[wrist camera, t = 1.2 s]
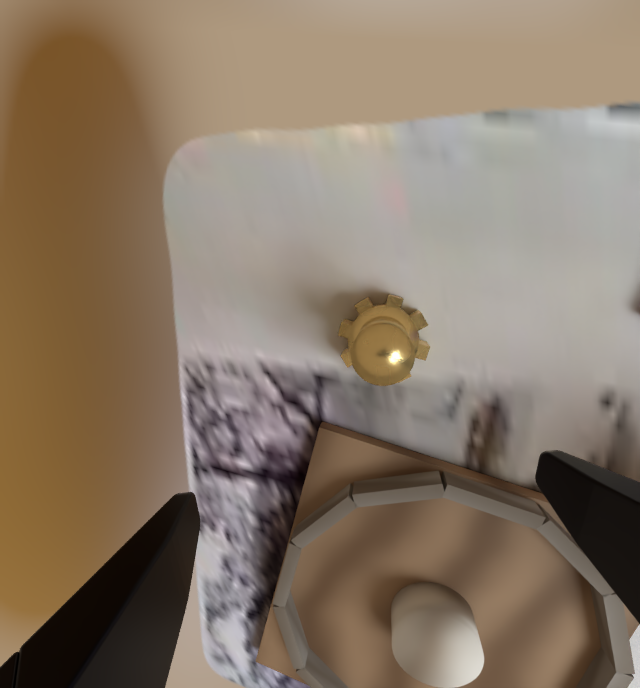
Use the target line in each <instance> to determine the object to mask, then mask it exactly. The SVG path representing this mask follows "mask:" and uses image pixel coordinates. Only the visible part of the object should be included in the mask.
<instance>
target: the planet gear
mask: <svg viewBox="0 0 640 688" xmlns="http://www.w3.org/2000/svg"><path fill="white" fill-rule="evenodd" d="M402 302H403V298H402V297H398V296H394V295H390V294H389V295H388V298H387V301H386V304H379V305H374V306H373V304H372V302H371V301H370V299H369V297H367V298H365V299H364V300H362V301H360V302H358V303H357V304H355V305H354V306H355V308H356V309H357V311H358V313H359V316H358V317H357V318H356V320H355V321H350V320H347V319H344V320H343V321H342V322H341V326H340V329H339V333H338V336H341V337H345V338H348V346H349V348H347V349H345V350H344V351H343V352H342V354H341V357H342V359H343V361H344V363H345V364H346V366H347V367H349V366H351V365H353V367H354V369H355V371H356V372H357V374H358V375H359V376H360V377H361V378H362V379H364V380H365V381H367V382H369V383H371V384H374V385H379V386H387V385H392V384H395V383H397V382H398V383H399V382H401V381H403V380H405V379H407V378H409V377H411V374H410V371H411V369H412V367H413V364H414V359H415V358H418V359H422V360H426V358H427V355H428V352H429V349H430V346H429V345H428V343H427V342H426V341H422V340H419V334H418V330H420V329H422V328H424V327H426V326H428V324H427V322H426V320H425V319H424V317H423V315H422V313H421V312H420V311H419V310H417V311H415V312H414V313H412V314H410V315H408V314H407V313H406V312H405V311H403V310H402V309H400V308H401V305H402Z"/></svg>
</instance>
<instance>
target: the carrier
mask: <svg viewBox="0 0 640 688" xmlns="http://www.w3.org/2000/svg"><path fill="white" fill-rule="evenodd" d="M638 625H639V623H638V621H637V620H636V619H635V618H634V616H633V615H632V614H631V613H630V611H629V610H628V609H627V607H626V606H625V605H624V604H623V602H622V601H621V600H620V599H619V597H618V596H617V595H616V593H615V592H614V591H613V590H612V588H611V587H610V586H609V585H608V583H607V582H606V581H605V580H604V578H603V577H602V576H601V574H600V573H599V572H598V571H597V569H596V568H595V567H594V566H593V564H592V563H591V562H590V560H589V559H588V558H587V557H586V555H585V554H584V553H583V551H582V550H581V549H580V547H579V546H578V545H577V543H576V542H575V541H574V539H573V538H572V536H571V535H570V533H569V532H568V530H567V529H566V527H565V526H564V524H563V523H562V521H561V520H560V518H559V517H558V515H557V514H556V512H555V511H554V509H553V508H552V506H551V505H550V503H549V502H548V500H547V499H546V497H545V496H544V494H543V493H539V492H536V491H533V490H530V489H527V488H524V487H521V486H518V485H515V484H512V483H509V482H506V481H503V480H500V479H497V478H494V477H491V476H488V475H484V474H481V473H478V472H475V471H472V470H469V469H466V468H463V467H460V466H457V465H454V464H451V463H448V462H445V461H442V460H439V459H436V458H433V457H430V456H426V455H423V454H420V453H417V452H414V451H411V450H408V449H405V448H402V447H399V446H396V445H393V444H390V443H387V442H384V441H381V440H378V439H375V438H371V437H368V436H365V435H362V434H359V433H356V432H353V431H350V430H347V429H344V428H341V427H338V426H335V425H332V424H329V423H326V422H323V421H322V423H321V425H320V427H319V431H318V434H317V438H316V442H315V445H314V449H313V453H312V456H311V460H310V464H309V467H308V471H307V475H306V478H305V482H304V486H303V489H302V493H301V497H300V500H299V504H298V508H297V511H296V515H295V519H294V523H293V526H292V530H291V534H290V537H289V541H288V545H287V548H286V552H285V556H284V559H283V563H282V567H281V570H280V574H279V578H278V581H277V585H276V589H275V592H274V596H273V600H272V603H271V607H270V611H269V614H268V618H267V622H266V625H265V629H264V633H263V636H262V640H261V644H260V647H259V651H258V655H257V658H256V662H258V663H260V664H262V665H265V666H267V667H269V668H271V669H273V670H276V671H278V672H280V673H282V674H284V675H287V676H289V677H291V678H293V679H296V680H298V681H300V682H302V683H304V684H307V685H309V686H310V687H311V688H627V687H628V686H629V684H630V683H631V681H632V680H633V678H634V677H633V675H632V674H635V672H634V666H633V660H632V653H631V647H630V641H629V639H630V638H631V636H632V635H633V633H634V631H635V630H636V628H637V627H638Z"/></svg>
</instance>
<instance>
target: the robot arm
mask: <svg viewBox="0 0 640 688" xmlns="http://www.w3.org/2000/svg"><path fill="white" fill-rule="evenodd" d="M535 478H536V483H537V485H538V487H539V488H540V490H541V491H542V493H543V494H544V496H545V497H546V499H547V500H548V502H549V503H550V505H551V506H552V508H553V509H554V511H555V512H556V514H557V515H558V517H559V518H560V520H561V521H562V523H563V524H564V526H565V527H566V529H567V530H568V532H569V533H570V535H571V536H572V538H573V539H574V541H575V542H576V543H577V545H578V546H579V547H580V549H581V550H582V551H583V553H584V554H585V555H586V557H587V558H588V559H589V560H590V562H591V563H592V564H593V566H594V567H595V568H596V569H597V571H598V572H599V573H600V574H601V576H602V577H603V578H604V580H605V581H606V582H607V583H608V585H609V586H610V587H611V588H612V590H613V591H614V592H615V593H616V595H617V596H618V597H619V599H620V600H621V601H622V602H623V604H624V605H625V606H626V607H627V609H628V610H629V611H630V613H631V614H632V615H633V616H634V618H635V619H636V620H637V621H638V623H639V624H640V482H637V481H635V480H632V479H630V478H627V477H625V476H622V475H620V474H617V473H615V472H612V471H610V470H607V469H605V468H602V467H600V466H597V465H595V464H592V463H590V462H587V461H585V460H582V459H580V458H577V457H575V456H572V455H569V454H567V453H564V452H562V451H558V450H554V451H545V452H542V453H541V455H540V457H539V462H538V466H537V471H536V476H535ZM199 530H200V516H199V511H198V507H197V502H196V497H195V495H194V493H192V492H187V493H178V494H176V495H174V496H173V497H172V498H171V499H170V500H169V501H168V502H167V503H166V504H165V505H164V506H163V507H162V508H161V509H160V510H159V511H158V512H157V513H156V514H155V515H154V516H153V517H152V518H151V519H150V520H148V522H146V524H144V525H143V527H142V528H141V529H139V530H138V531H137V533H135V534H134V535H133V536H132V538H130V539H129V540H128V541H127V542H126V543H125V544H124V545H123V546H122V547H121V548H120V549H119V550H118V551H117V552H116V553H115V554H114V555H113V556H112V557H111V558H110V559H109V560H108V561H107V562H106V563H105V564H104V565H103V566H102V567H101V568H100V569H99V570H98V571H97V572H96V573H95V574H94V575H93V576H92V577H91V578H90V579H89V580H88V581H87V582H86V583H85V584H84V585H83V586H82V587H81V588H80V589H79V590H78V591H77V592H76V593H75V594H74V595H73V596H72V597H71V598H70V599H69V600H68V601H67V602H66V603H65V604H64V605H63V606H62V607H61V608H60V609H59V610H58V611H57V612H56V613H55V614H54V615H53V616H52V617H51V618H50V619H49V620H48V621H47V622H46V623H45V624H44V625H43V626H42V627H41V628H40V629H38V630H37V631H36V633H34V634H33V635H32V636H31V637H30V639H28V641H26V642H25V643H24V644H23V645H22V647H21V648H20V651H19V652H16V653H14V654H13V655H12V656H11V657H10V658H9V659H8V660H7V661H6V662H5V663H4V664H3V665H2V666H1V667H0V688H165V685H166V681H167V677H168V674H169V670H170V666H171V662H172V659H173V655H174V651H175V648H176V644H177V640H178V636H179V632H180V628H181V625H182V621H183V617H184V614H185V609H186V605H187V601H188V596H189V591H190V585H191V579H192V573H193V567H194V561H195V555H196V548H197V542H198V536H199Z"/></svg>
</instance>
